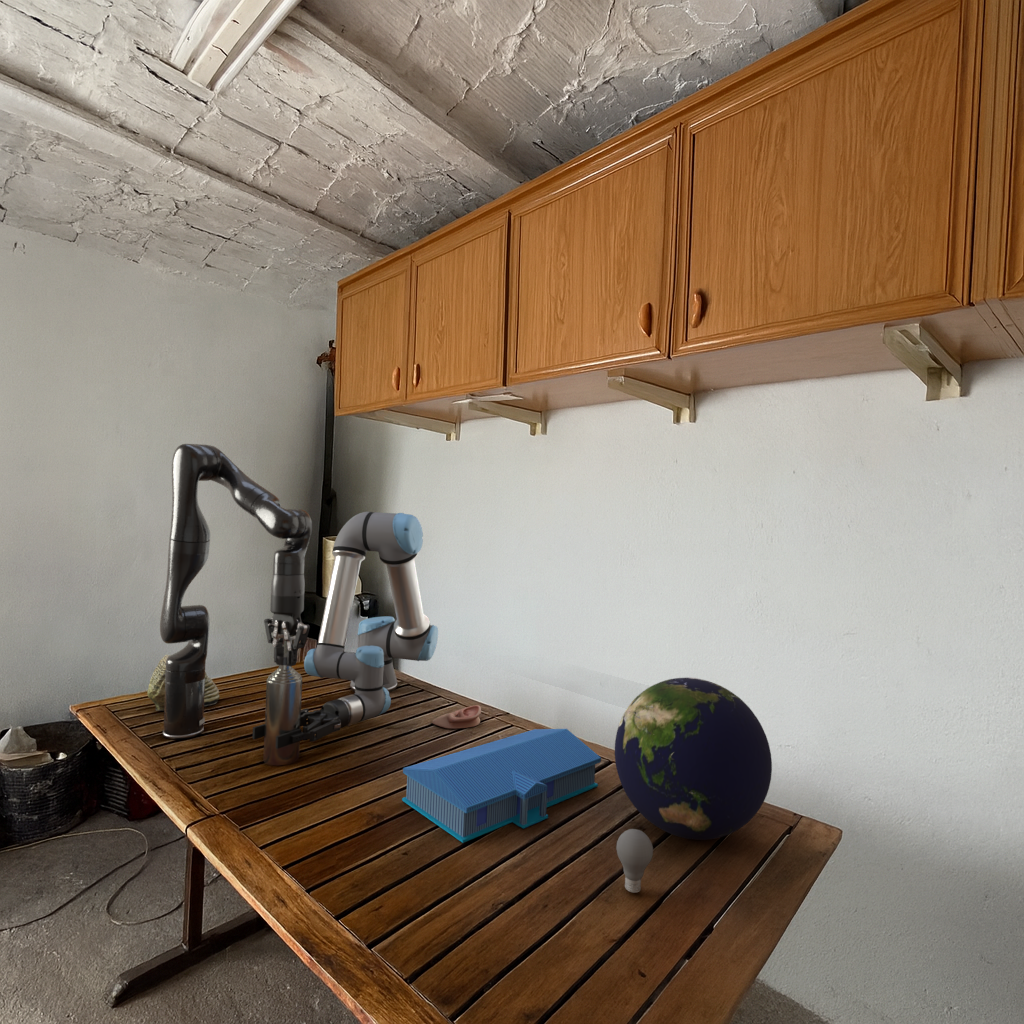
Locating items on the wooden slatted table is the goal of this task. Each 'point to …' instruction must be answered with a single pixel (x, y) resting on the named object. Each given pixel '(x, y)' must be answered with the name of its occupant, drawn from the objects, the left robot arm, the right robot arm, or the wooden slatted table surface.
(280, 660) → the cap
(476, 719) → the anatomical model
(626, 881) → the light bulb
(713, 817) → the globe
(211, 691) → the fossil
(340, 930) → the wooden slatted table surface
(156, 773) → the wooden slatted table surface
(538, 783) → the model building
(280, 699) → the bottle
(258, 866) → the wooden slatted table surface
